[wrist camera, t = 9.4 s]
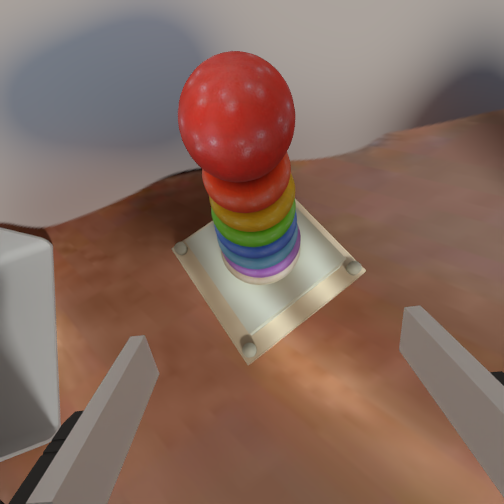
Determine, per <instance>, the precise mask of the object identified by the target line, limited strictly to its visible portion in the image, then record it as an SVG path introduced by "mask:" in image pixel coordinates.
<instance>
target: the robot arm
mask: <svg viewBox="0 0 504 504" xmlns="http://www.w3.org/2000/svg"><path fill="white" fill-rule="evenodd" d="M399 351H400V352H401V354H402V355H403V356H404V358H405V359H406V361H407V362H408V363H409V365H410V366H411V368H412V369H413V370H414V372H415V373H416V375H417V376H418V377H419V379H420V380H421V382H422V383H423V385H424V386H425V387H426V389H427V390H428V392H429V393H430V394H431V396H432V397H433V399H434V400H435V401H436V403H437V404H438V406H439V407H440V408H441V410H442V411H443V413H444V414H445V415H446V417H447V418H448V420H449V421H450V422H451V424H452V425H453V427H454V428H455V430H456V431H457V432H458V434H459V435H460V437H461V438H462V439H463V441H464V442H465V444H466V445H467V446H468V448H469V449H470V451H471V452H472V453H473V455H474V456H475V458H476V459H477V460H478V462H479V463H480V465H481V466H482V468H483V469H484V470H485V472H486V473H487V475H488V476H489V477H490V479H491V480H492V482H493V483H494V484H495V486H496V487H497V489H498V490H499V491H500V493H501V494H502V496H503V497H504V373H503V372H502V371H501V372H489V371H488V370H487V369H486V368H485V367H484V366H482V365H481V364H480V363H479V362H478V361H477V360H476V359H475V358H474V357H473V356H472V355H471V354H470V353H469V352H468V351H467V350H466V349H465V348H464V347H463V346H462V345H461V344H460V343H459V342H458V341H457V340H456V339H454V338H453V337H452V336H451V335H450V334H449V333H448V332H447V331H446V330H445V329H444V328H443V327H442V326H441V325H440V324H439V323H438V322H437V321H436V320H435V319H434V318H433V317H432V316H431V315H430V314H429V313H428V312H426V311H425V310H424V309H423V308H422V307H421V306H412V307H404V314H403V322H402V330H401V339H400V347H399ZM158 376H159V372H158V369H157V366H156V364H155V361H154V358H153V356H152V353H151V350H150V348H149V345H148V342H147V340H146V337H145V335H142V336H132V337H130V338H129V340H128V341H127V343H126V345H125V346H124V348H123V349H122V351H121V352H120V354H119V356H118V357H117V359H116V360H115V362H114V364H113V365H112V367H111V368H110V370H109V372H108V373H107V375H106V376H105V378H104V380H103V381H102V383H101V384H100V386H99V387H98V389H97V391H96V392H95V394H94V395H93V397H92V399H91V400H90V402H89V403H88V405H87V407H86V408H85V410H84V411H77V412H74V413H73V414H72V415H71V416H70V417H69V418H68V419H67V420H66V421H65V422H64V423H63V424H62V425H61V427H60V428H59V430H58V431H57V433H56V434H55V436H54V437H53V439H52V442H51V443H49V445H48V446H47V448H46V449H45V451H44V452H43V455H42V456H40V458H39V459H38V461H37V462H36V464H35V465H34V467H33V468H32V470H31V471H30V473H29V474H28V476H27V477H26V479H25V480H24V482H23V483H22V485H21V486H20V488H19V489H18V491H17V492H16V493H15V495H14V496H13V498H12V499H11V501H10V502H9V504H107V503H108V500H109V498H110V495H111V493H112V490H113V488H114V485H115V483H116V480H117V478H118V475H119V473H120V470H121V468H122V465H123V463H124V460H125V458H126V456H127V453H128V451H129V448H130V446H131V443H132V441H133V438H134V436H135V433H136V431H137V428H138V426H139V423H140V421H141V418H142V416H143V413H144V411H145V408H146V406H147V403H148V401H149V398H150V396H151V393H152V391H153V388H154V386H155V383H156V381H157V378H158ZM0 504H4V503H3V502H2V501H1V500H0Z"/></svg>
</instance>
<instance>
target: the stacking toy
mask: <svg viewBox="0 0 504 504" xmlns="http://www.w3.org/2000/svg"><path fill="white" fill-rule="evenodd" d="M178 124H179V130H180V133H181V137H182V141H183V143H184V145H185V147H186V149H187V151H188V152H189V154H190V155H191V157H192V158H193V159H194V161H195V162H196V163H197V164H198V165H199V166H200V167H201V168H202V178H203V183H204V186H205V189H206V191H207V193H208V194H209V199H210V204H211V214H212V219H213V222H214V227H215V231H216V234H217V240H218V243H219V246H220V248H221V254H222V258H223V262H224V264H225V266H226V267H227V269H228V270H229V271H230V273H231V274H232V275H234V276H235V277H236V278H238V279H239V280H241V281H243V282H245V283H249V284H253V285H267V284H271V283H274V282H277V281H279V280H281V279H283V278H284V277H285V276H287V275H288V274H289V273H290V272H291V271H292V270H293V268H294V267H295V265H296V263H297V261H298V259H299V255H300V241H301V235H300V230H299V226H298V224H297V214H296V203H295V184H294V180H293V177H292V174H291V165H290V160H289V157H288V154H287V150H288V148H289V146H290V144H291V141H292V138H293V133H294V127H295V109H294V104H293V99H292V95H291V92H290V89H289V87H288V85H287V83H286V81H285V80H284V79H283V77H282V76H281V74H280V73H279V72H278V71H277V70H276V69H275V68H274V67H273V66H272V65H271V64H270V63H268V62H267V61H265V60H264V59H262V58H260V57H258V56H256V55H253V54H250V53H246V52H240V51H230V52H224V53H220V54H217V55H214V56H212V57H211V58H209V59H207V60H206V61H204V62H202V63H201V64H200V65H199V66H198V67H197V68H196V69H195V70H194V71H193V73H192V74H191V75H190V77H189V78H188V80H187V81H186V83H185V85H184V87H183V90H182V93H181V96H180V100H179V108H178Z"/></svg>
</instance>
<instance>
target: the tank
mask: <svg viewBox="0 0 504 504" xmlns="http://www.w3.org/2000/svg"><path fill="white" fill-rule="evenodd" d="M60 427H61V423H60V400H59V377H58V354H57V331H56V308H55V285H54V262H53V245H52V244H51V243H50V242H49V241H48V240H46V239H44V238H42V237H38V236H34V235H29V234H25V233H21V232H17V231H13V230H9V229H5V228H1V227H0V462H1V461H4V460H6V459H9V458H11V457H14V456H17V455H19V454H22V453H24V452H27V451H29V450H32V449H34V448H37V447H39V446H42V445H45V444H47V443H49V442H50V441H52V439H53V437H54V436H55V434H56V433H57V431H58V430H59V428H60Z"/></svg>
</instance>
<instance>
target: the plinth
mask: <svg viewBox="0 0 504 504" xmlns="http://www.w3.org/2000/svg"><path fill="white" fill-rule="evenodd" d="M295 203H296V214H297V224H298V226H299V230H300V235H301V241H300V255H299V259H298V261H297V263H296V265H295V267H294V268H293V270H292V271H291V272H290V273H289V274H288V275H287V276H285V277H284V278H283V279H281V280H279V281H277V282H274V283H271V284H267V285H253V284H249V283H245V282H243V281H241V280H239V279H238V278H236V277H235V276H234V275H232V274H231V273H230V271H229V270H228V269H227V267H226V266H225V264H224V262H223V258H222V254H221V248H220V246H219V243H218V240H217V234H216V231H215V227H214V222H213V221H211V222H210V223H208V224H207V225H205V226H204V227H203V228H201V229H200V230H198V231H197V232H195V233H194V234H192V235H191V236H189V237H188V238H186V239H185V240H183V241H182V242H178V243H176V244H175V246H174V247H173V248H171V249H172V251H173V252H174V254H175V255H176V257H177V258H178V260H179V261H180V263H181V264H182V266H183V267H184V269H185V270H186V272H187V273H188V275H189V276H190V278H191V279H192V281H193V283H194V284H195V286H196V287H197V289H198V290H199V292H200V293H201V295H202V296H203V298H204V299H205V301H206V302H207V304H208V305H209V307H210V308H211V310H212V311H213V313H214V314H215V316H216V318H217V319H218V321H219V322H220V324H221V325H222V327H223V328H224V330H225V331H226V333H227V334H228V336H229V337H230V339H231V340H232V342H233V343H234V345H235V346H236V348H237V349H238V351H239V353H240V354H241V356H242V357H243V359H244V360H245V362H246V363H247V365H249V364H251V363H253V362H254V361H255V360H256V359H258V358H259V357H260V356H261V355H263V354H264V353H265V352H266V351H268V350H269V349H270V348H271V347H273V346H274V345H275V344H276V343H278V342H279V341H280V340H281V339H283V338H284V337H285V336H286V335H288V334H289V333H290V332H291V331H293V330H294V329H295V328H296V327H298V326H299V325H300V324H301V323H303V322H304V321H305V320H306V319H308V318H309V317H310V316H311V315H313V314H314V313H315V312H317V311H318V310H319V309H320V308H322V307H323V306H324V305H325V304H327V303H328V302H329V301H330V300H332V299H333V298H334V297H335V296H337V295H338V294H339V293H340V292H342V291H343V290H344V289H345V288H347V287H348V286H349V285H350V284H352V283H353V282H354V281H355V280H357V279H358V278H359V277H360V276H361V275H362V274H363V273H364V272H366V270H365V269H364V268H363V267H362V266H361V264H360V263H359V262H357V261H356V260H355V259H354V258H353V257H352V256H351V255H350V254H349V253H348V252H347V251H346V250H345V249H344V248H343V247H342V246H341V245H340V244H339V243H338V242H337V241H336V240H335V239H334V238H333V237H332V236H331V235H330V234H329V233H328V232H327V230H326V229H325V228H324V227H323V226H322V225H321V224H320V223H319V222H318V221H317V220H316V219H315V218H314V217H313V216H312V215H311V214H310V213H309V212H308V211H307V210H306V209H305V208H304V207H303V206H302V205H301V204H300V203H299V202H298V201H297V200H296V199H295Z"/></svg>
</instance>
